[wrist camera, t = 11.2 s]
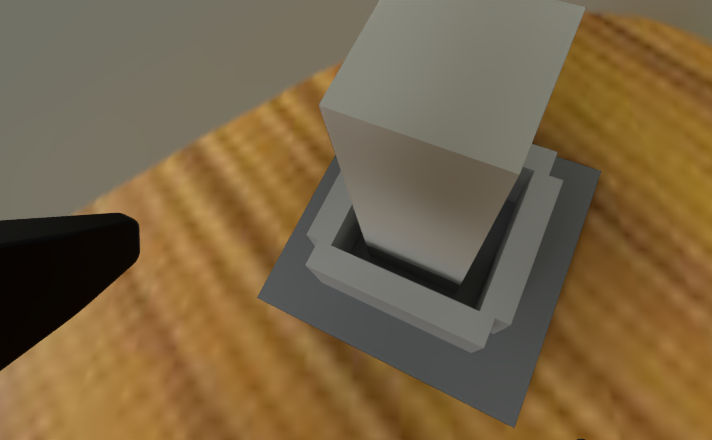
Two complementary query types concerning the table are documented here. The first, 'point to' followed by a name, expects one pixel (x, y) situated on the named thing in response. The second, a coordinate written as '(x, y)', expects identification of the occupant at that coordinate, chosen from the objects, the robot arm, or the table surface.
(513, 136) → the plug
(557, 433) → the table surface
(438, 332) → the socket
